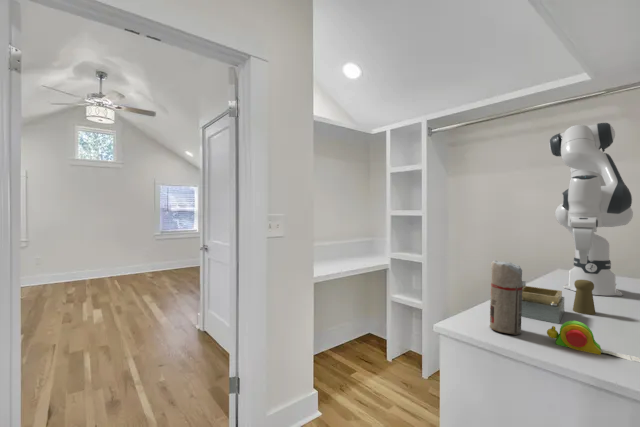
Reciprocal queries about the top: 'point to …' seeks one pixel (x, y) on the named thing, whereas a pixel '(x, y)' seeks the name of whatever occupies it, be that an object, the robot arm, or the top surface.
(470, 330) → the top surface
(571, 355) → the top surface
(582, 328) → the toy measuring tape
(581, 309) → the cork
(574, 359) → the top surface
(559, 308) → the grey wooden box
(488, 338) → the top surface
